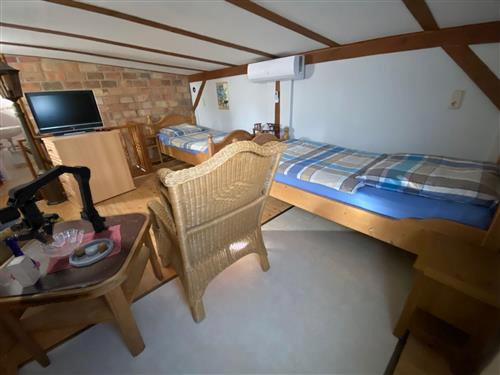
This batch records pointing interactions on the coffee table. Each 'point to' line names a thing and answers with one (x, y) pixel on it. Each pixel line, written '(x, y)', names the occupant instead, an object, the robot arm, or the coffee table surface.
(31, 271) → the skincare box
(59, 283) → the coffee table surface
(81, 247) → the bead
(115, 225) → the coffee table surface
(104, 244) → the wooden rounded peg
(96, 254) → the groove tray
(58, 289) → the coffee table surface
